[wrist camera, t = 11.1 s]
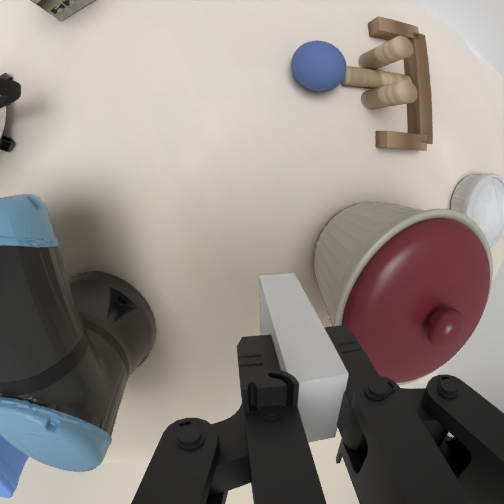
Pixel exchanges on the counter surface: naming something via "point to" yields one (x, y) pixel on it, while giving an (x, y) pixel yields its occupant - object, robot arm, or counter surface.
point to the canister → (404, 283)
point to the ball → (318, 66)
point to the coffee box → (62, 7)
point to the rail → (420, 77)
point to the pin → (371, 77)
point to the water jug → (10, 467)
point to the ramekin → (482, 203)
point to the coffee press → (4, 93)
